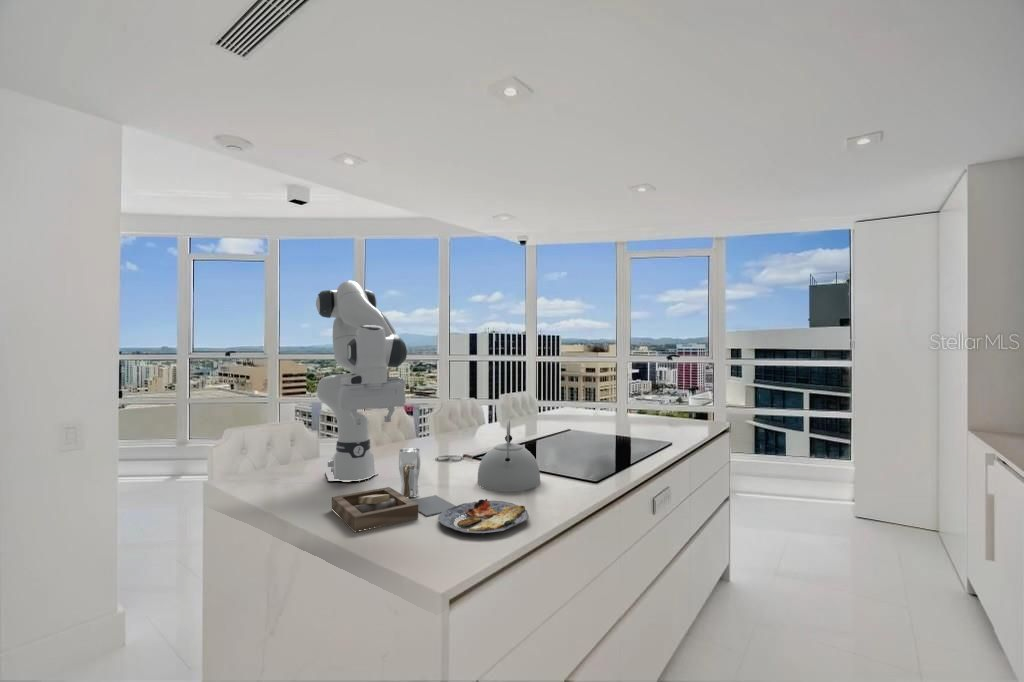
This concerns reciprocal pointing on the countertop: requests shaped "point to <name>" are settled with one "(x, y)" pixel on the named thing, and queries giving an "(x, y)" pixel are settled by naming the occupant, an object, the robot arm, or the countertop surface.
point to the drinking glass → (409, 471)
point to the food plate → (484, 516)
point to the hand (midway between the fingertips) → (372, 423)
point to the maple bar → (374, 499)
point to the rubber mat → (432, 505)
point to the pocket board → (377, 515)
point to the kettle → (508, 467)
